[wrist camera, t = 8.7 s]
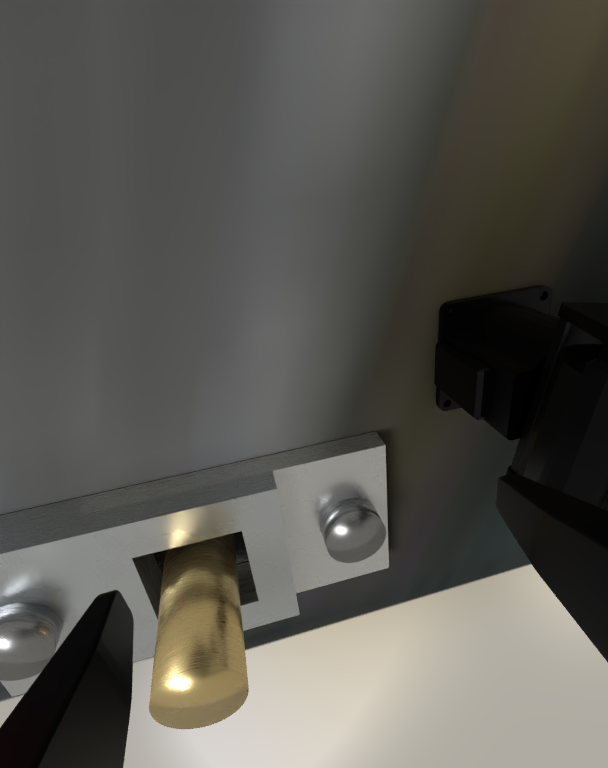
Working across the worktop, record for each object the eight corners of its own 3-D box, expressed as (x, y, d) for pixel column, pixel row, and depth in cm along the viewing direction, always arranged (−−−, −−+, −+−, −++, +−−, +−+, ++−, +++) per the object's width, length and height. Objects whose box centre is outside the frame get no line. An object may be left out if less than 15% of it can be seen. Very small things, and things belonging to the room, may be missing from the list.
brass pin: (227, 506, 25) (239, 656, 17) (239, 553, 26) (255, 710, 18) (158, 522, 24) (136, 686, 16) (175, 570, 26) (163, 739, 18)
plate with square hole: (375, 431, 25) (409, 477, 21) (380, 550, 29) (408, 607, 25) (-47, 525, 21) (-105, 603, 17) (31, 644, 26) (0, 727, 22)
